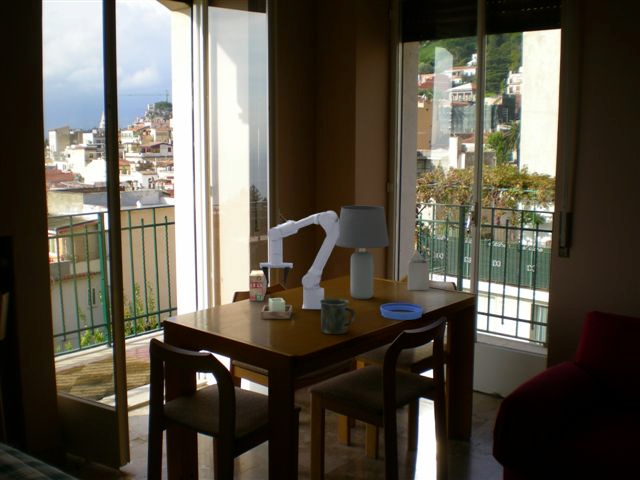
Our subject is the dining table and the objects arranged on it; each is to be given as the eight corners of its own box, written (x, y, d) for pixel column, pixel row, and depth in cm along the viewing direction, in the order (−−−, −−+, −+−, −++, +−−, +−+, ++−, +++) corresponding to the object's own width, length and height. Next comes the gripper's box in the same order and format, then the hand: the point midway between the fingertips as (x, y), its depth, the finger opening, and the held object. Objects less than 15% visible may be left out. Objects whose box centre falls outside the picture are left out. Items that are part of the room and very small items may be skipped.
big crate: (292, 312, 298) (292, 305, 297) (290, 319, 286) (290, 312, 285) (264, 311, 298) (264, 305, 298) (261, 318, 286) (261, 311, 286)
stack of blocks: (253, 291, 341) (253, 266, 339) (266, 291, 341) (266, 266, 339) (249, 301, 320) (249, 275, 318) (263, 301, 320) (262, 275, 318)
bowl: (395, 322, 281) (395, 314, 281) (372, 313, 297) (372, 305, 297) (431, 317, 290) (431, 309, 289) (407, 308, 305) (407, 301, 305)
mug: (329, 326, 275) (329, 296, 273) (361, 331, 267) (361, 301, 266) (314, 332, 266) (314, 302, 264) (347, 338, 258) (347, 306, 256)
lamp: (375, 290, 342) (376, 204, 336) (397, 301, 319) (398, 209, 313) (328, 293, 334) (328, 205, 329) (346, 305, 311) (346, 210, 305)
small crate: (281, 311, 296) (281, 297, 296) (285, 315, 289) (285, 301, 288) (268, 312, 295) (268, 298, 294) (272, 316, 288) (272, 302, 287)
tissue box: (421, 292, 338) (422, 253, 336) (407, 290, 343) (407, 252, 341) (436, 287, 351) (437, 249, 349) (422, 285, 356) (423, 248, 353)
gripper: (292, 252, 311) (293, 281, 313) (261, 252, 312) (261, 281, 314) (291, 254, 304) (291, 285, 306) (259, 254, 305) (259, 284, 307)
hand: (276, 283), depth 310 cm, fingers open, 7 cm apart
